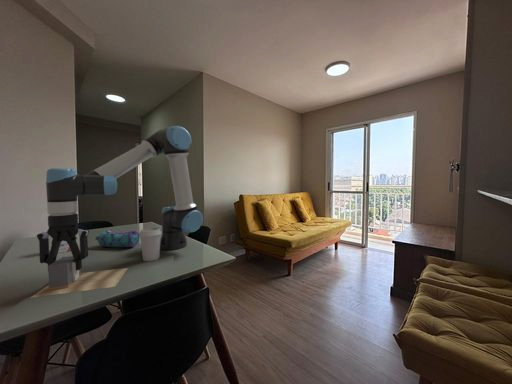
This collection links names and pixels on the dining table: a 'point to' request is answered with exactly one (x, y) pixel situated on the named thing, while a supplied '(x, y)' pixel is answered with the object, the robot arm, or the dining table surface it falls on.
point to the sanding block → (61, 273)
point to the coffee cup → (150, 243)
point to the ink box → (64, 246)
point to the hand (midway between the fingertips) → (65, 280)
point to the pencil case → (118, 239)
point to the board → (87, 282)
